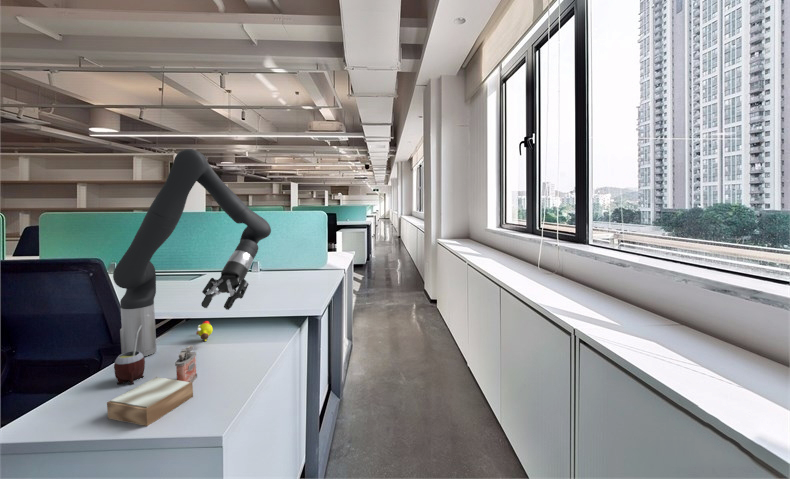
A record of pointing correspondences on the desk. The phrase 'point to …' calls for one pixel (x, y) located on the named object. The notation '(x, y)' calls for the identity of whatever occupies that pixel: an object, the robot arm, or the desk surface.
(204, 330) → the toy figure
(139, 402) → the wooden flat block
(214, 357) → the desk surface
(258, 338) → the desk surface
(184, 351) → the lighter
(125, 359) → the mate gourd
